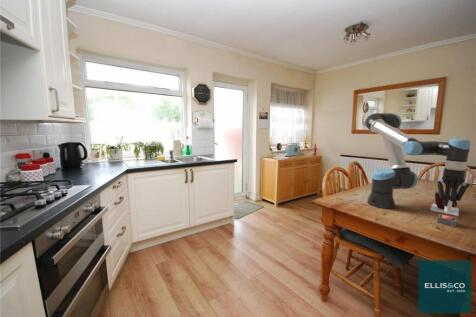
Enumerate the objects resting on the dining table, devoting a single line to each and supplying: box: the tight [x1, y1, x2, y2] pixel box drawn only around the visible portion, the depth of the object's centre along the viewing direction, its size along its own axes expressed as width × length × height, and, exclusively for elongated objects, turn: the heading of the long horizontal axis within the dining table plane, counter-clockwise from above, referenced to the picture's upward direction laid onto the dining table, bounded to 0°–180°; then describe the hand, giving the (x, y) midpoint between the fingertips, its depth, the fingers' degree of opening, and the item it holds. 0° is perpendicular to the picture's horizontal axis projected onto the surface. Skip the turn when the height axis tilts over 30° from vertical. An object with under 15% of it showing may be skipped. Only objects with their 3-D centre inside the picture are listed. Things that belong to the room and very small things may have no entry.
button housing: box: [436, 213, 458, 228], centre depth 108 cm, size 7×7×3 cm
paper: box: [429, 203, 460, 217], centre depth 127 cm, size 16×12×1 cm
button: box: [441, 214, 455, 220], centre depth 108 cm, size 4×4×2 cm
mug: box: [434, 190, 458, 209], centre depth 126 cm, size 10×8×10 cm
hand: (447, 212), depth 108 cm, fingers closed
